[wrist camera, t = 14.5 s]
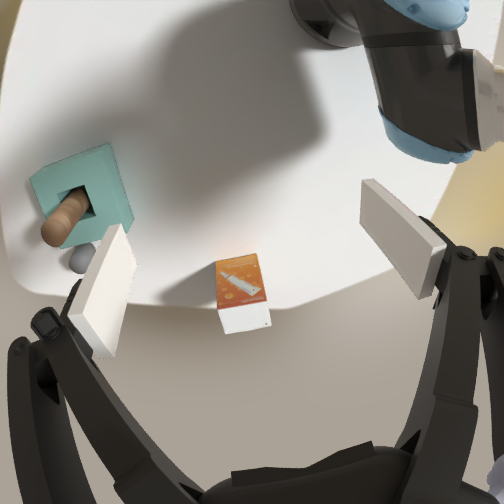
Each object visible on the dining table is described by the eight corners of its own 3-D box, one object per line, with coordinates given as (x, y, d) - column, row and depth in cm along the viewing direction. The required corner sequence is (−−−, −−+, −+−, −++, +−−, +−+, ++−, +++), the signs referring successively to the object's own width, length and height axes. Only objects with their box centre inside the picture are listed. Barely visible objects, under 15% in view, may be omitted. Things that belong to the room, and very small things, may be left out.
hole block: (43, 167, 40) (29, 178, 36) (110, 142, 40) (99, 151, 36) (70, 234, 48) (60, 249, 44) (134, 218, 48) (127, 233, 44)
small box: (256, 252, 56) (268, 300, 45) (260, 277, 59) (272, 326, 49) (214, 260, 55) (216, 310, 45) (221, 285, 59) (225, 335, 49)
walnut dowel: (73, 184, 43) (36, 225, 31) (92, 178, 43) (57, 218, 31) (81, 204, 45) (48, 249, 34) (99, 199, 45) (69, 243, 34)
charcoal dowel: (74, 243, 49) (65, 258, 45) (90, 239, 49) (82, 254, 45) (82, 259, 51) (74, 275, 47) (98, 256, 51) (91, 272, 47)
